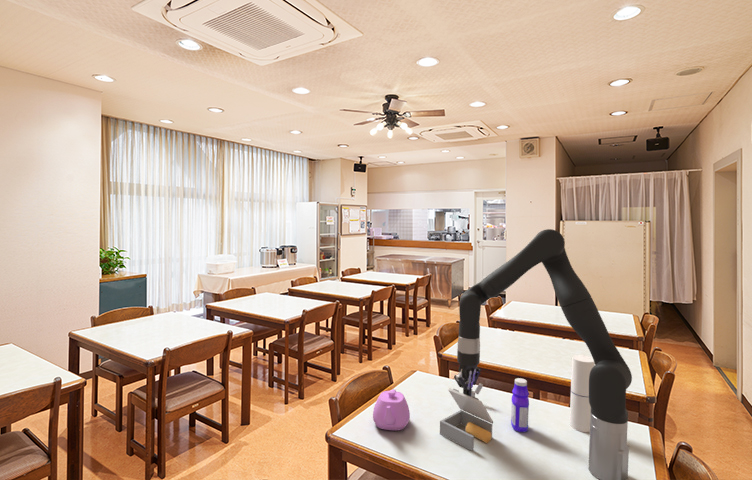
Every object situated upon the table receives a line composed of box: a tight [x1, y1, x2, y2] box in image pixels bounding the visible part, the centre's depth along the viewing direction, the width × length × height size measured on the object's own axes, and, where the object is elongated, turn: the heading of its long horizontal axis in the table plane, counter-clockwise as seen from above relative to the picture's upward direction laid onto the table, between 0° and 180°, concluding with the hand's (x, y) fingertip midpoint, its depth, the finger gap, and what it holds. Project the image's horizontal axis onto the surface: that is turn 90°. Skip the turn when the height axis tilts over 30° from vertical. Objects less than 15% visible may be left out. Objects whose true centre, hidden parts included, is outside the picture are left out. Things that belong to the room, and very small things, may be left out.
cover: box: [447, 387, 494, 425], centre depth 130 cm, size 13×12×1 cm
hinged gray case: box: [439, 409, 493, 452], centre depth 129 cm, size 13×12×4 cm
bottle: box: [510, 377, 530, 433], centre depth 134 cm, size 7×6×17 cm
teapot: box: [372, 388, 411, 431], centre depth 135 cm, size 20×13×12 cm, turn 172°
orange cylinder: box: [465, 422, 493, 444], centre depth 128 cm, size 8×4×4 cm, turn 39°
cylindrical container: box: [569, 354, 595, 433], centre depth 135 cm, size 7×7×25 cm
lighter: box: [471, 382, 484, 398], centre depth 153 cm, size 7×2×8 cm, turn 79°
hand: (467, 398), depth 130 cm, fingers closed
